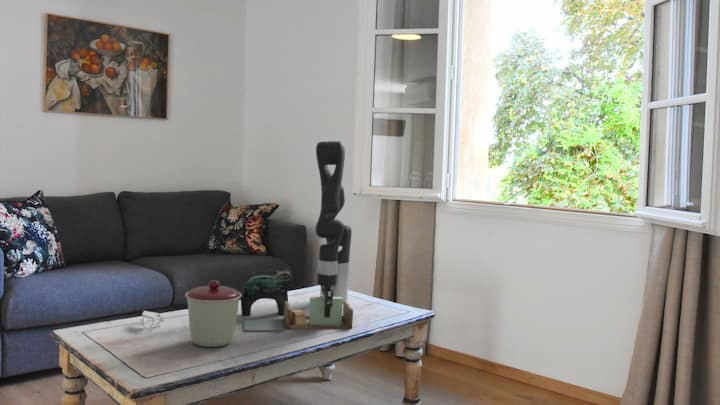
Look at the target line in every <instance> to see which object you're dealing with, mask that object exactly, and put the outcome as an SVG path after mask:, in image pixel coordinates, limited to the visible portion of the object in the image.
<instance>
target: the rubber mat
mask: <svg viewBox="0 0 720 405" xmlns="http://www.w3.org/2000/svg"><path fill="white" fill-rule="evenodd" d="M242 322H243V323H242V324H243V330H244V332H245V333H251V332H255V333H257V332H258V333H260V332H261V333H265V332H266V333H267V332H269V333H271V332H273V333H274V332H275V333H276V332H278V333H279V332H281V333H282V332H285V328H284V325H283V322H282V319H281V318H270V319H269V318H260V319H259V318H256V319H255V318H253V319H252V318H247V319H243V320H242Z"/></svg>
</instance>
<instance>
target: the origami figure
mask: <svg viewBox="0 0 720 405" xmlns="http://www.w3.org/2000/svg"><path fill="white" fill-rule="evenodd" d="M141 315H142V319H141V320H140V323H141V325H142V326H143V327H142V329H143V330H145V328H146V326H145V324H146V325H147V324H148V323H147V322H146V319H149V320H151V324H150V325H149V328H151V330H150V332H153V330H154V328H153V324H154V322H155V319H156V317H157V318H159V319H160V320H159V321H158V322H157V323H156V324H155V325H156V326H158V327H162V326H161V325H159V324H161V323H163V322H164V321H166V319H165V318H164V317H162V316H161V313H159V312H154V311H148V310H143V312H142V314H141Z"/></svg>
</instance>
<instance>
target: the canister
mask: <svg viewBox="0 0 720 405" xmlns="http://www.w3.org/2000/svg"><path fill="white" fill-rule="evenodd" d="M220 284H221V283H220V281H219V280H217V279H212V280H210V281H209V282H208V285H204V286H198V287H194V288H192V289H190V290H189V291H187V292H186V293H185V296H184V297H186V298H187V308H188V309H187V310H188V322H189V323H188V324H189V331H190V339H191V340H192V342H193V343H194V344H195V345H196V346H199V347H205V348H217V347H223V346H227V345H228V344H230V343H231V341H232V340H233V338H234V335H235V329H236V325H237V323H236V322H237V318H238V311H239V304H240V299H241V296H242V294H241V292H240V291H238V290H237V289H236V288H232V287H229V286H224V285H220Z"/></svg>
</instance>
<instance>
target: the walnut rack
mask: <svg viewBox="0 0 720 405" xmlns="http://www.w3.org/2000/svg"><path fill="white" fill-rule="evenodd" d="M291 311H292V309H291V307H290V304H289V300H288V301H285V305H284V314H283V320H284V323H285V326H286V328H287V330H320V329H321V330H324V329H325V330H327V329H328V330H329V329H331V330H335V329H338V330H340V329H343V330H344V329H345V330H346V329H350V330H352V329H353V322H354V321H353V320H354V319H353V318H354V309H353V308H352V307H351V305H350V304H349V303H348V300H347V301H343V306H342V320H343V321H344V322H345V324H346V325H345V324H342V325H310V324H307V325H297V326H294V325H291V324H292V323H291ZM305 318H306V319H307V320H309V315H305Z"/></svg>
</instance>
